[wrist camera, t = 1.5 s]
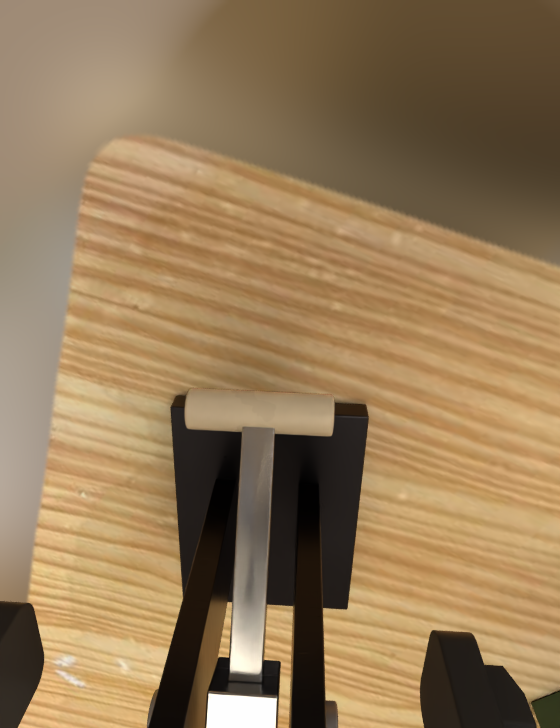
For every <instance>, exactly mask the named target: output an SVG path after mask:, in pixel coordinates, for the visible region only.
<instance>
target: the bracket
mask: <svg viewBox="0 0 560 728" xmlns="http://www.w3.org/2000/svg"><path fill="white" fill-rule="evenodd" d="M185 402H186V396H179V395H178V396H176V397H175V399H174V401H173V403H172V405H171V407H170V408H171V423H172V438H173V453H174V469H175V484H176V499H177V514H178V530H179V545H180V560H181V576H182V591H183V601H182V605H181V608H180V612H179V616H178V619H177V623H176V627H175V630H174V634H173V638H172V641H171V645H170V649H169V652H168V656H167V660H166V663H165V667H164V671H163V674H162V678H161V682H160V685H159V689H157V690H155V692H154V694H153V697H152V700H151V704H150V708H149V713H148V720H147V728H205V717H206V700H207V691H208V688H209V685H210V682H211V679H212V676H213V673H214V670H215V667H216V664H217V659H218V653H219V648H220V642H221V636H222V631H223V625H224V619H225V613H226V608H227V602H232V600H233V582H234V565H235V547H236V530H237V512H238V495H239V477H240V460H241V442H242V432H232V431H213V430H193V429H188V428H187V427H186V423H185ZM368 420H369V416H368V411H367V406H366V405H363V404H342V403H334V427H333V433H332V436H310V435H291V434H276V438H275V458H274V478H273V498H272V518H271V538H270V557H269V577H268V597H267V605H283V606H293V625H292V654H291V683H290V712H289V728H338V710H337V703H336V702H335V701H326V700H325V666H324V631H323V608H331V609H347V608H348V600H349V591H350V582H351V573H352V564H353V555H354V546H355V537H356V528H357V519H358V510H359V501H360V492H361V483H362V474H363V465H364V456H365V447H366V438H367V429H368Z"/></svg>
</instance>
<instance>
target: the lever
mask: <svg viewBox="0 0 560 728" xmlns="http://www.w3.org/2000/svg"><path fill="white" fill-rule="evenodd" d="M185 423H186V427H187V428H188V429H193V430H213V431H232V432H242V442H241V460H240V477H239V495H238V512H237V530H236V547H235V565H234V582H233V600H232V617H231V635H230V652H229V658H226V657H219V658H218V661H217V664H216V667H215V670H214V673H213V676H212V679H211V682H210V685H209V688H208V691H207V700H206V717H205V728H278V710H279V689H280V668H281V663H280V661H271V660H264V657H265V637H266V617H267V597H268V577H269V557H270V538H271V518H272V498H273V478H274V458H275V438H276V434H291V435H310V436H332V433H333V427H334V396H333V395H331V394H311V393H291V392H270V391H249V390H229V389H208V388H190V389H189V391H188V393H187V396H186V402H185Z"/></svg>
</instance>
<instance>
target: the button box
mask: <svg viewBox="0 0 560 728" xmlns="http://www.w3.org/2000/svg"><path fill="white" fill-rule="evenodd" d="M531 704H532V707H533V709H534V712H535V714H536V717H537V720H538V722H539V725H540V727H541V728H560V692H557V693H555V694H552V695H550V696H547V697H545V698H542V699H540V700H537V701H534V702H532V703H531Z"/></svg>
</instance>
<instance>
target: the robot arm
mask: <svg viewBox="0 0 560 728" xmlns="http://www.w3.org/2000/svg"><path fill="white" fill-rule="evenodd" d="M43 665H44V651H43V647H42V642H41V638H40V634H39V629H38V625H37V620H36V616H35V611H34V608H33V606H32V604H30V603H20V602H5V601H0V728H18V726H19V724H20V722H21V720H22V718H23V716H24V714H25V712H26V709H27V707H28V705H29V703H30V701H31V699H32V697H33V695H34V693H35V691H36V689H37V687H38V684H39V682H40V679H41V675H42V671H43ZM420 702H421V712H422V718H423V723H424V728H536V726H537V725H536V723H535V720H534V718H533V715H532V712H531V710H530V707H529V705H528V702H527V699H526V697H525V694H524V693H523V691H522V690H521V689H520V688H519V686H518V685H517V684H516V682H515V681H514V680H513V679H512V677H511V676H510V675H509V673H508V672H507V671H506V670H505V668H504V667H503V666H494V665H484V663H483V660H482V657H481V654H480V651H479V648H478V645H477V642H476V639H475V637H474V636H473V634H472V633H469V632H453V631H437V630H433V631H432V632H431V634H430V637H429V642H428V647H427V652H426V657H425V662H424V667H423V672H422V677H421V683H420Z"/></svg>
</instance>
